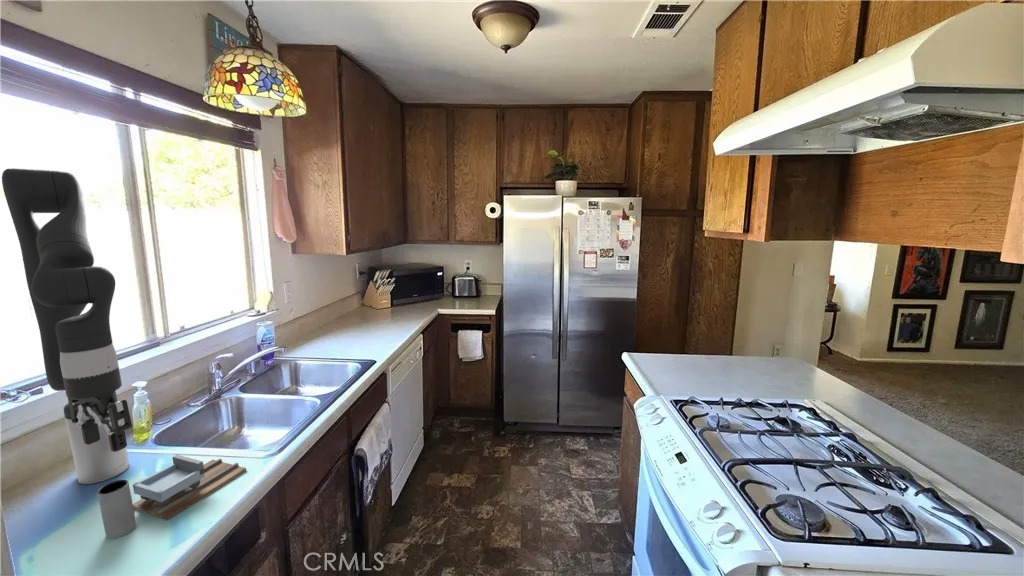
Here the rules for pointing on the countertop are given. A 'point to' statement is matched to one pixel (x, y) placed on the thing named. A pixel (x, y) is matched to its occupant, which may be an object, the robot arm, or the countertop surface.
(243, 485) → the countertop surface
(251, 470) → the countertop surface
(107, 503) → the grey cylindrical cup
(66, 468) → the countertop surface
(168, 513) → the rail board
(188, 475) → the grey open box
